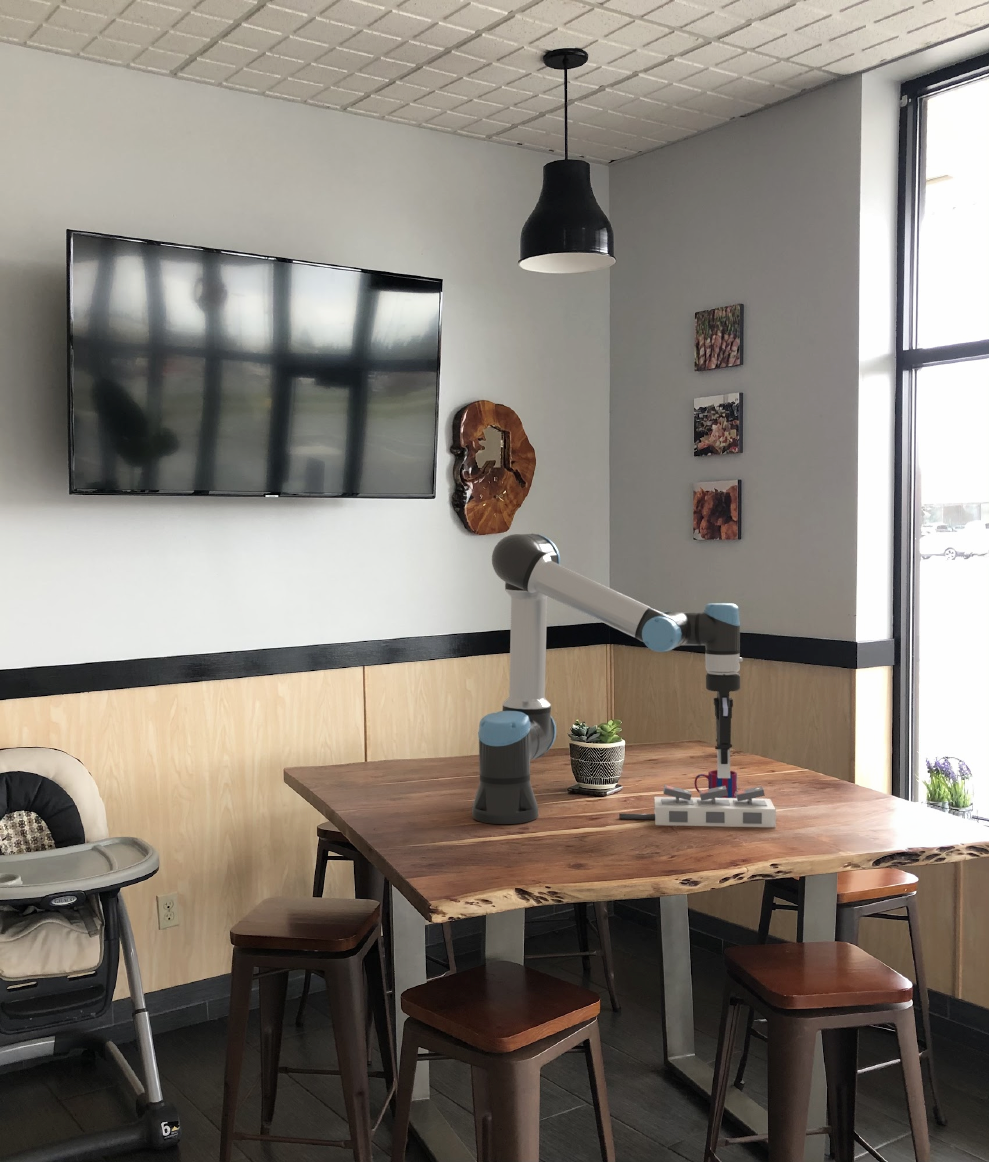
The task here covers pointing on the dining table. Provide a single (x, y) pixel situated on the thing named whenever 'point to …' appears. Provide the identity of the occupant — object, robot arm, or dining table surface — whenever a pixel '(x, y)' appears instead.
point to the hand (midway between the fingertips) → (723, 777)
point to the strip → (710, 812)
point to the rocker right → (749, 793)
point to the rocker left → (677, 792)
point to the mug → (721, 782)
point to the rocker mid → (713, 793)
